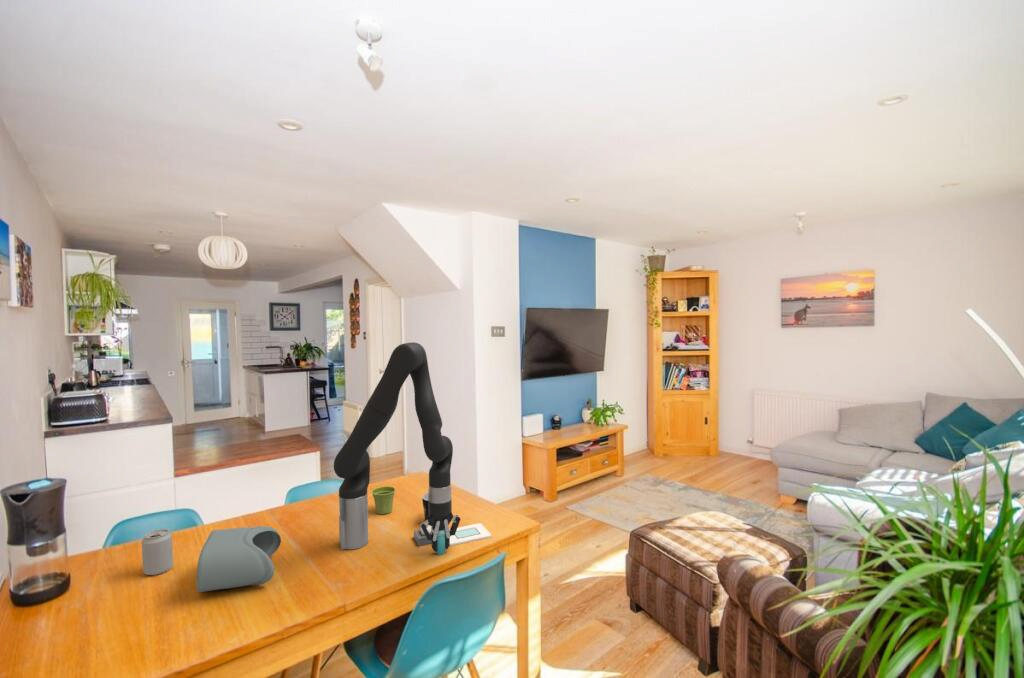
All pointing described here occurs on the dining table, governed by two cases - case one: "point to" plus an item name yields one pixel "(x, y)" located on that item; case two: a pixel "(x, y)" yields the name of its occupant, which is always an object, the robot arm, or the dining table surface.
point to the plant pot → (383, 499)
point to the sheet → (469, 534)
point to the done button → (427, 529)
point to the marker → (441, 542)
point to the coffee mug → (425, 506)
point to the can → (157, 552)
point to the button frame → (421, 538)
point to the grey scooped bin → (237, 558)
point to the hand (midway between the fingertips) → (440, 549)
